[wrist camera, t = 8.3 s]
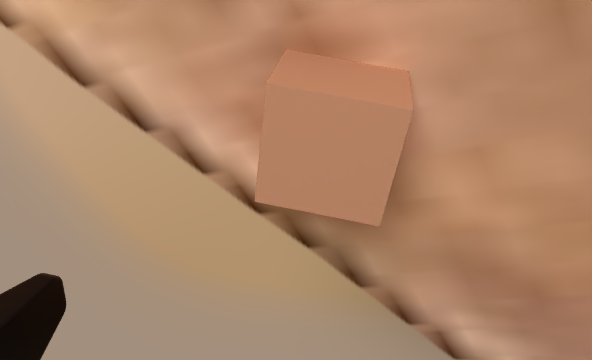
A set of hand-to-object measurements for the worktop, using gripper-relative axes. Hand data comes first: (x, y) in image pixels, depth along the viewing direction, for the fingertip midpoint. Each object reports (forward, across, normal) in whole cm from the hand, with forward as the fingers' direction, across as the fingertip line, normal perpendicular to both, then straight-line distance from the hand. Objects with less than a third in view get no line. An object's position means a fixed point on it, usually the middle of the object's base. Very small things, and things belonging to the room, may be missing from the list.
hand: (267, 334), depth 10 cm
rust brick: (+12, -1, 0) cm, 12 cm away
